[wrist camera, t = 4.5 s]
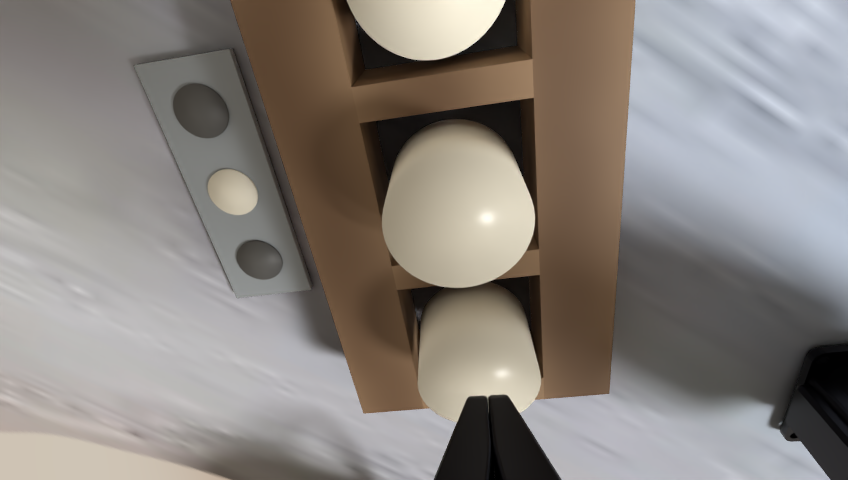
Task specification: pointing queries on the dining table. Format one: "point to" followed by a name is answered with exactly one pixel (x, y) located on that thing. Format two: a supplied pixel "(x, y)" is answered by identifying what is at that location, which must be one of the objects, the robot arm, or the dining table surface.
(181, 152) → the card
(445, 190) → the button
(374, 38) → the button
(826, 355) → the robot arm
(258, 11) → the wooden compartment tray
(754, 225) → the dining table surface
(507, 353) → the button
